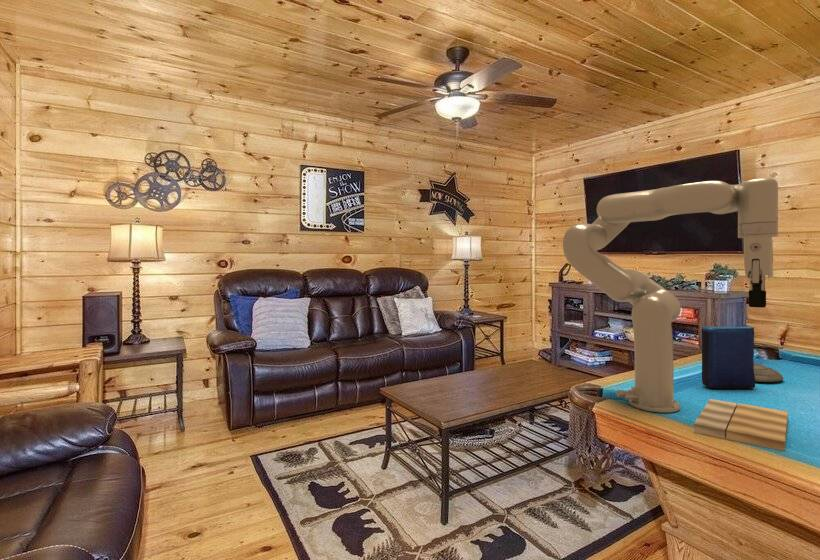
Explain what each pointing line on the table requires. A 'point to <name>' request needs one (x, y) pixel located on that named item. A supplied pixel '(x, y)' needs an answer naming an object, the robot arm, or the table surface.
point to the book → (728, 356)
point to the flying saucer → (766, 374)
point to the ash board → (715, 418)
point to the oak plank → (758, 426)
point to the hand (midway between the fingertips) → (757, 306)
